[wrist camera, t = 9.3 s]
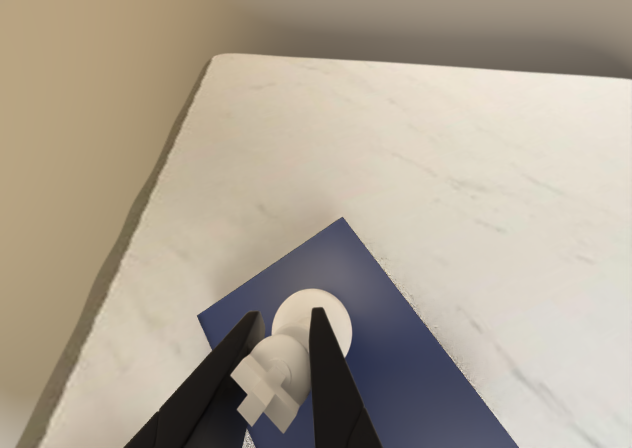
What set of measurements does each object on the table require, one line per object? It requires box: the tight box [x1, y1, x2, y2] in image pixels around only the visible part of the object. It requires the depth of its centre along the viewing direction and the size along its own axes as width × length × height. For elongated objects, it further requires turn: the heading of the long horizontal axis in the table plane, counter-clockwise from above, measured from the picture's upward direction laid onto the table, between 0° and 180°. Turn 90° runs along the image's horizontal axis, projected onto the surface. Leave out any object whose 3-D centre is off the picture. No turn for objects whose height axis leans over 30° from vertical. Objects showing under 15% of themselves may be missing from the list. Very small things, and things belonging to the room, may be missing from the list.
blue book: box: [197, 217, 519, 448], centre depth 17 cm, size 19×14×3 cm
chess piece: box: [230, 289, 352, 434], centre depth 9 cm, size 5×5×10 cm
